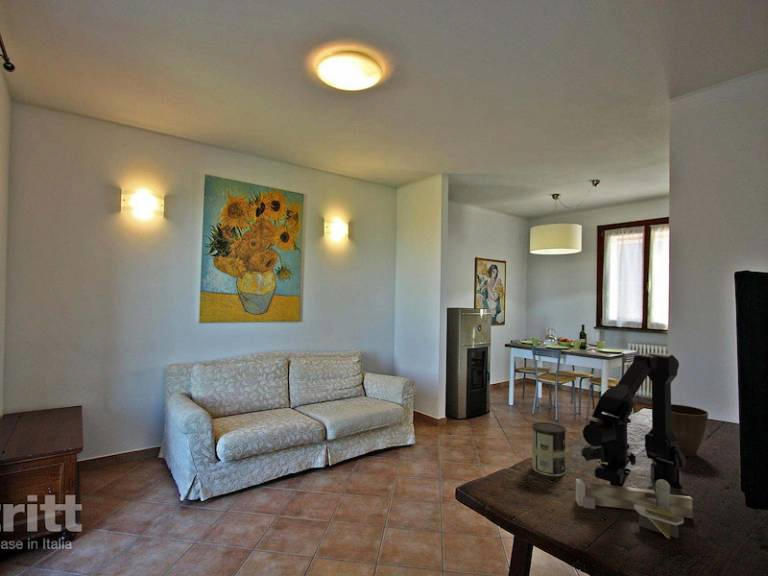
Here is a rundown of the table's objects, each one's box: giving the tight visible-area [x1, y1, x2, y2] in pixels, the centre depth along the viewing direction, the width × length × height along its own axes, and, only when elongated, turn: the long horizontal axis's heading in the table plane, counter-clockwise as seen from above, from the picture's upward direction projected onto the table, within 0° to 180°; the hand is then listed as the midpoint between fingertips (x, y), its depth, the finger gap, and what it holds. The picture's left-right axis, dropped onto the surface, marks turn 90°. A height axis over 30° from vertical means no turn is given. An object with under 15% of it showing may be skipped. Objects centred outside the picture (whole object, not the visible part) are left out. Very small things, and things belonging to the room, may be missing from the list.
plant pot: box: [671, 403, 709, 457], centre depth 148 cm, size 15×15×16 cm
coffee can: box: [531, 421, 567, 477], centre depth 132 cm, size 10×10×14 cm
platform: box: [634, 503, 685, 539], centre depth 96 cm, size 12×18×7 cm, turn 51°
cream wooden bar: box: [585, 482, 656, 511], centre depth 108 cm, size 17×2×5 cm, turn 77°
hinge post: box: [655, 479, 671, 514], centre depth 105 cm, size 3×3×9 cm
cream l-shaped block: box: [575, 478, 596, 510], centre depth 109 cm, size 4×4×6 cm
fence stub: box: [670, 493, 694, 519], centre depth 104 cm, size 5×1×5 cm, turn 76°
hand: (616, 495), depth 112 cm, fingers closed
